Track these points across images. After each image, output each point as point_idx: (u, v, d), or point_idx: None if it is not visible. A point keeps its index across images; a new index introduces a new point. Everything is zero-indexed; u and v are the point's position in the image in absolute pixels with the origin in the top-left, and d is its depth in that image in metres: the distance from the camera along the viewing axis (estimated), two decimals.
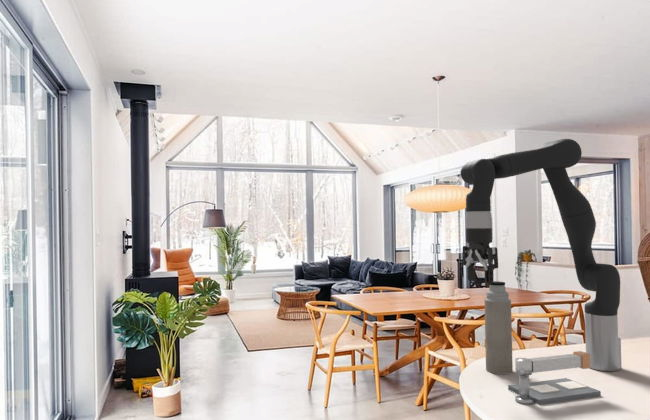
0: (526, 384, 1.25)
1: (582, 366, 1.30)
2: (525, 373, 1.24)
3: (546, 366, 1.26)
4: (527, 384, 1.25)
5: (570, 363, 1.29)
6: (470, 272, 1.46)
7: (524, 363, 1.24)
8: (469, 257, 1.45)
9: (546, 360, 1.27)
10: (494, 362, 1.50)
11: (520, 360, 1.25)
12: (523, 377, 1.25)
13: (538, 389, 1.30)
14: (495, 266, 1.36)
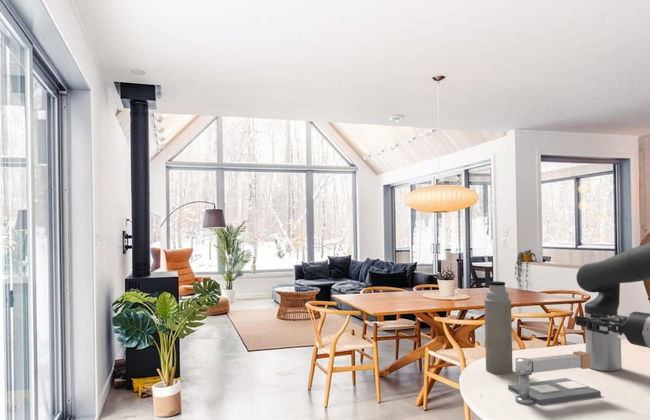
0: (526, 384, 1.25)
1: (582, 366, 1.30)
2: (525, 373, 1.24)
3: (546, 366, 1.26)
4: (527, 384, 1.25)
5: (570, 363, 1.29)
6: None
7: (524, 363, 1.24)
8: None
9: (546, 360, 1.27)
10: (494, 362, 1.50)
11: (520, 360, 1.25)
12: (523, 377, 1.25)
13: (538, 389, 1.30)
14: None
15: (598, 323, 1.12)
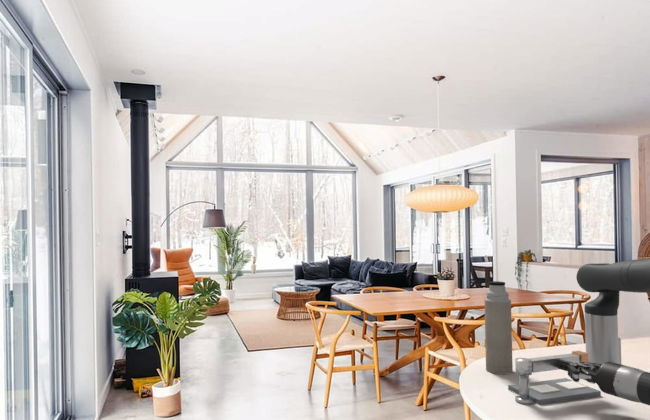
0: (526, 384, 1.25)
1: None
2: (525, 373, 1.24)
3: (546, 366, 1.27)
4: (527, 384, 1.25)
5: None
6: None
7: (524, 363, 1.24)
8: None
9: (546, 360, 1.27)
10: (494, 362, 1.50)
11: (520, 360, 1.25)
12: (523, 377, 1.25)
13: (538, 389, 1.30)
14: None
15: (571, 370, 1.19)
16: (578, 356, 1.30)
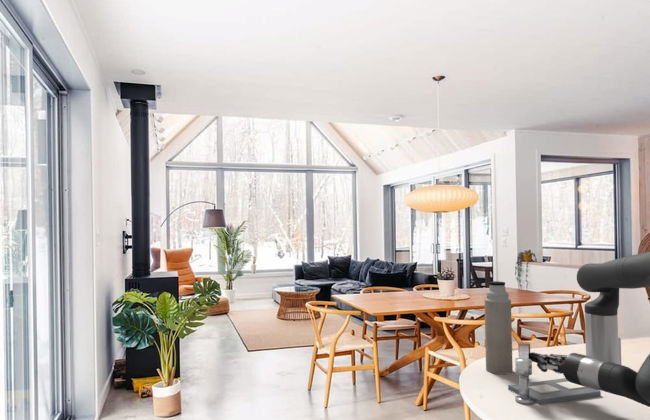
0: (526, 384, 1.25)
1: None
2: (531, 372, 1.24)
3: None
4: (527, 384, 1.25)
5: None
6: None
7: (530, 363, 1.24)
8: None
9: None
10: (494, 362, 1.50)
11: (524, 361, 1.25)
12: (523, 377, 1.25)
13: (538, 389, 1.30)
14: None
15: (540, 361, 1.27)
16: (528, 346, 1.41)
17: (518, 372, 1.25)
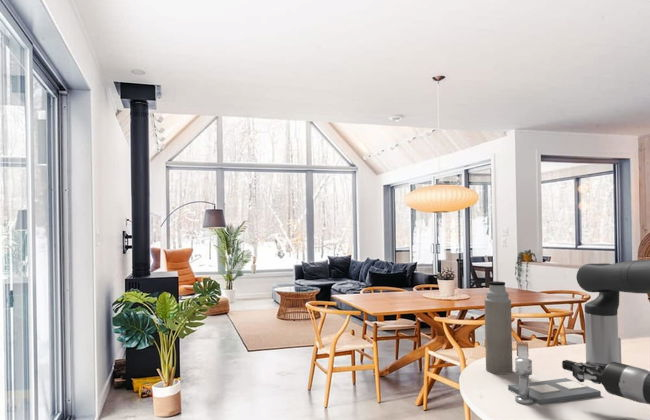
0: (526, 384, 1.25)
1: None
2: (531, 372, 1.24)
3: None
4: (527, 384, 1.25)
5: None
6: None
7: (530, 363, 1.24)
8: None
9: (527, 355, 1.31)
10: (494, 362, 1.50)
11: (524, 361, 1.25)
12: (523, 377, 1.25)
13: (538, 389, 1.30)
14: None
15: (576, 370, 1.18)
16: (526, 346, 1.41)
17: (518, 372, 1.25)
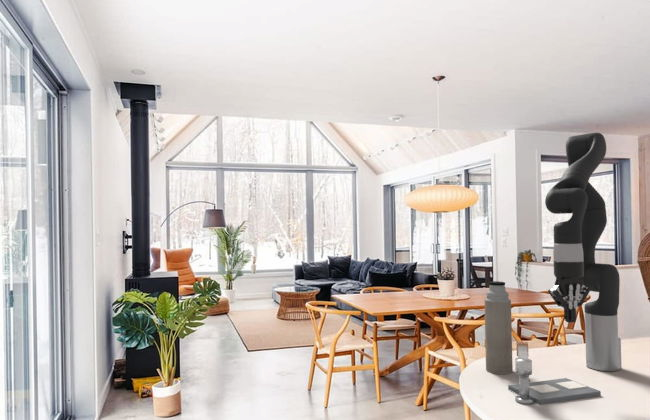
0: (526, 384, 1.25)
1: None
2: (531, 372, 1.24)
3: None
4: (527, 384, 1.25)
5: None
6: None
7: (530, 363, 1.24)
8: (571, 294, 1.33)
9: (527, 355, 1.31)
10: (494, 362, 1.50)
11: (524, 361, 1.25)
12: (523, 377, 1.25)
13: (538, 389, 1.30)
14: None
15: (552, 296, 1.34)
16: (526, 346, 1.41)
17: (518, 372, 1.25)
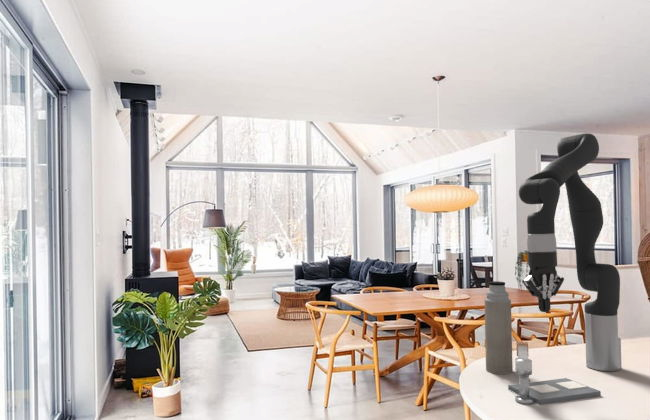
0: (526, 384, 1.25)
1: None
2: (531, 372, 1.24)
3: None
4: (527, 384, 1.25)
5: None
6: None
7: (530, 363, 1.24)
8: (544, 284, 1.33)
9: (527, 355, 1.31)
10: (494, 362, 1.50)
11: (524, 361, 1.25)
12: (523, 377, 1.25)
13: (538, 389, 1.30)
14: None
15: (526, 286, 1.35)
16: (526, 346, 1.41)
17: (518, 372, 1.25)
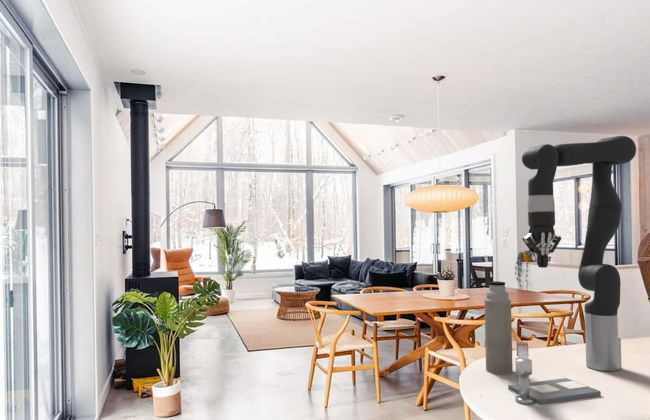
0: (526, 384, 1.25)
1: None
2: (531, 372, 1.24)
3: None
4: (527, 384, 1.25)
5: None
6: None
7: (530, 363, 1.24)
8: (543, 241, 1.45)
9: (527, 355, 1.31)
10: (494, 362, 1.50)
11: (524, 361, 1.25)
12: (523, 377, 1.25)
13: (538, 389, 1.30)
14: None
15: (525, 243, 1.47)
16: (526, 346, 1.41)
17: (518, 372, 1.25)
